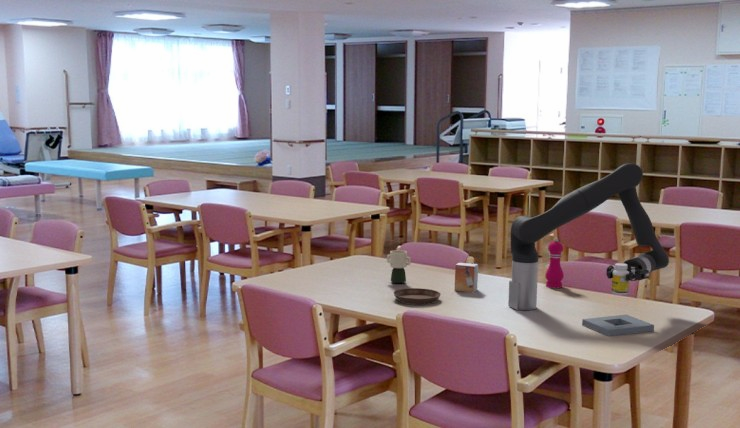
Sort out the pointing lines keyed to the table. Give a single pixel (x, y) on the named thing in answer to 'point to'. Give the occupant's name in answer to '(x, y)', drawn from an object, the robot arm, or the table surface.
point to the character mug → (398, 265)
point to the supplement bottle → (620, 279)
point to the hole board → (626, 325)
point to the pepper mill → (554, 265)
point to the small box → (466, 277)
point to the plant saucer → (417, 296)
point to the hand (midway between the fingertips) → (617, 276)
